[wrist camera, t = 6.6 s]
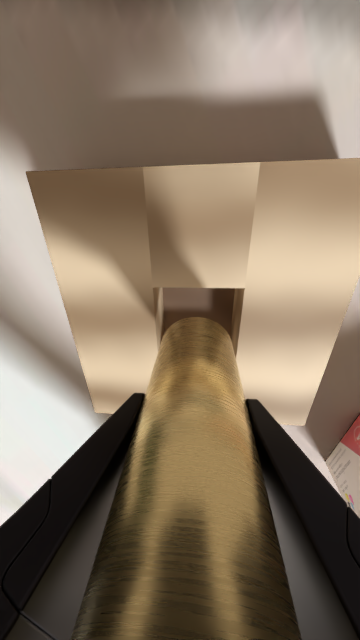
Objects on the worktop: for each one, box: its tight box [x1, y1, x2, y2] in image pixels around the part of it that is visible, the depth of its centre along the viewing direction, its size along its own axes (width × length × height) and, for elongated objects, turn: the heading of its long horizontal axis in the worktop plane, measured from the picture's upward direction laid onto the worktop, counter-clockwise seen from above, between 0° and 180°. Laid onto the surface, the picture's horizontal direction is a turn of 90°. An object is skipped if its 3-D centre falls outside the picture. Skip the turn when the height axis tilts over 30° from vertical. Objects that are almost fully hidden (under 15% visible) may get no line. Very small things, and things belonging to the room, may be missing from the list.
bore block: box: [26, 158, 360, 426], centre depth 15 cm, size 16×16×4 cm
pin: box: [70, 317, 302, 640], centre depth 7 cm, size 4×4×9 cm
